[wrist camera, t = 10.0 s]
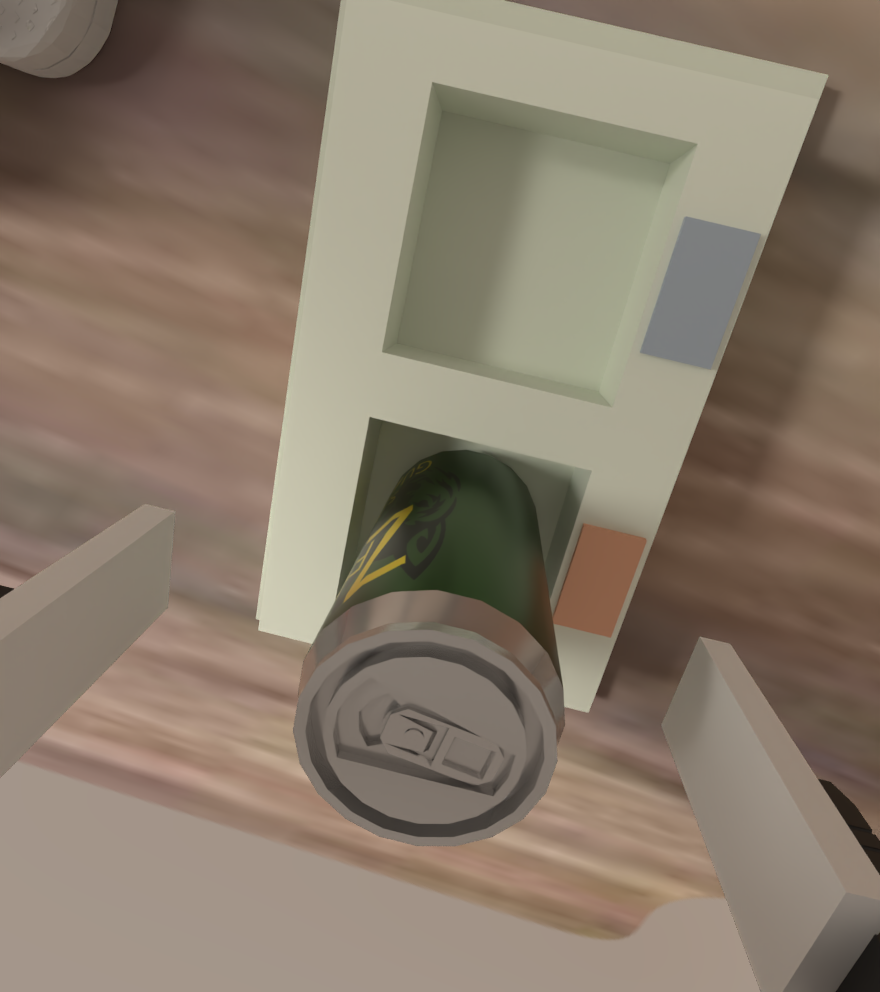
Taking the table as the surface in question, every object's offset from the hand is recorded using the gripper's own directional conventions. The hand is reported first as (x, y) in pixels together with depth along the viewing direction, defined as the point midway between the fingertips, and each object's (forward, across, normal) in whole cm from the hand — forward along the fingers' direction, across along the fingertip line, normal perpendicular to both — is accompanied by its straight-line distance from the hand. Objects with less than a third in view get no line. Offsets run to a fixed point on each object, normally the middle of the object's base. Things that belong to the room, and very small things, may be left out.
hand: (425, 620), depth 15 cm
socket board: (+8, 0, +4) cm, 10 cm away
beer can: (+8, +1, 0) cm, 8 cm away
